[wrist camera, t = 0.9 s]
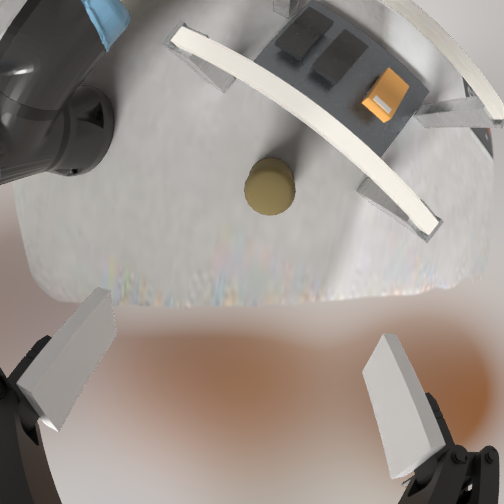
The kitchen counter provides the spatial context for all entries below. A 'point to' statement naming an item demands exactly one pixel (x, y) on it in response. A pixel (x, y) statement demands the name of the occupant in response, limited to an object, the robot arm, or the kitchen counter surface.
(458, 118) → the white rail rack
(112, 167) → the kitchen counter surface
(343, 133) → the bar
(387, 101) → the orange flat block
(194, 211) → the kitchen counter surface
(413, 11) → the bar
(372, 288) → the kitchen counter surface
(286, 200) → the cork
